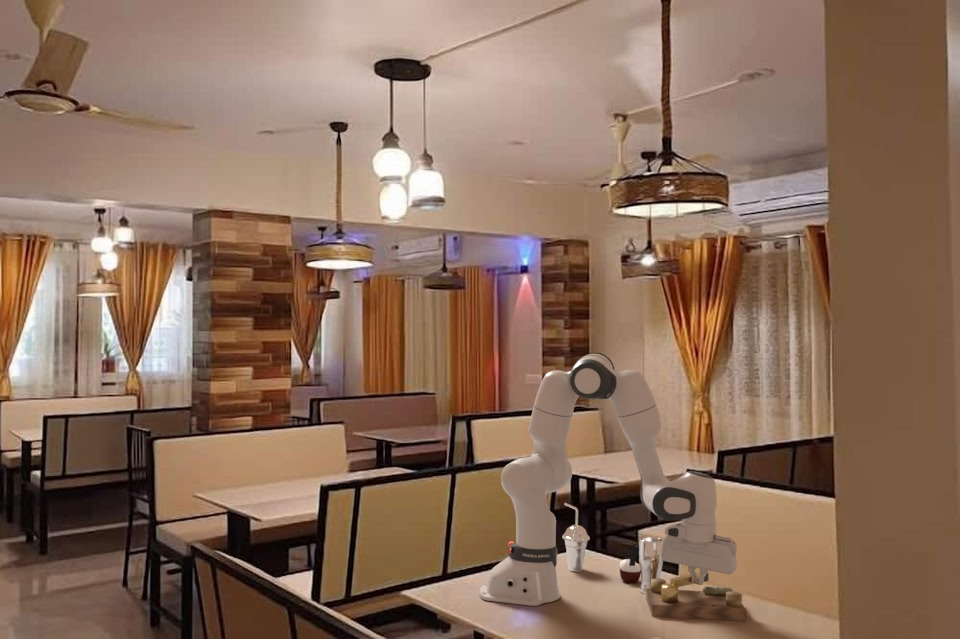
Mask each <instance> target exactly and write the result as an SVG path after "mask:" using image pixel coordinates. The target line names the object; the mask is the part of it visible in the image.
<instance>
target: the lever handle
mask: <svg viewBox="0 0 960 639" xmlns="http://www.w3.org/2000/svg"><path fill="white" fill-rule="evenodd" d="M695 573H696V572H695ZM701 574H702V573H701V572H700V571H699V572H697V573H696V575H697V576H699V577H700V575H701ZM669 582H670V583H667V582H666V584H662V585H661V600H663V601H666V602H677V601H678V590H679V588H680V587H685V586H690V585H694V584H693V583H692V577H691V575H690V574H687V575H683V576H676V577H671V578H670V581H669ZM704 582H709V572H707V574H706V575H705V577H704Z"/></svg>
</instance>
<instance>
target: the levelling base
mask: <svg viewBox="0 0 960 639" xmlns="http://www.w3.org/2000/svg"><path fill="white" fill-rule="evenodd" d="M666 583H667V581H666V580H665V579H664V578H663V579H662V578H660V579H657V578H656V579H651V588H646V594H645V600H646V602H647V606H648V609H649V612H650V614H651V617H663V618H681V619H682V618H683V619H698V620H700V619H701V620H702V619H703V620H719V621H720V620H721V621H736V622H737V621H738V622H739V621H741V622H746V621H747V609H746V607H745V606H744V604H743V598H742V597H743V593H741V592H738V591H735V590H734V591H733V589H732V588H731V587H727V586H726V587H721V586H718V585H717V586H704V587H703V588H702V590H689V589H688V590H687V589H685V590H684V589H678V601H677V602H666V601H663V600H661V585H662V584H666Z"/></svg>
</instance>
